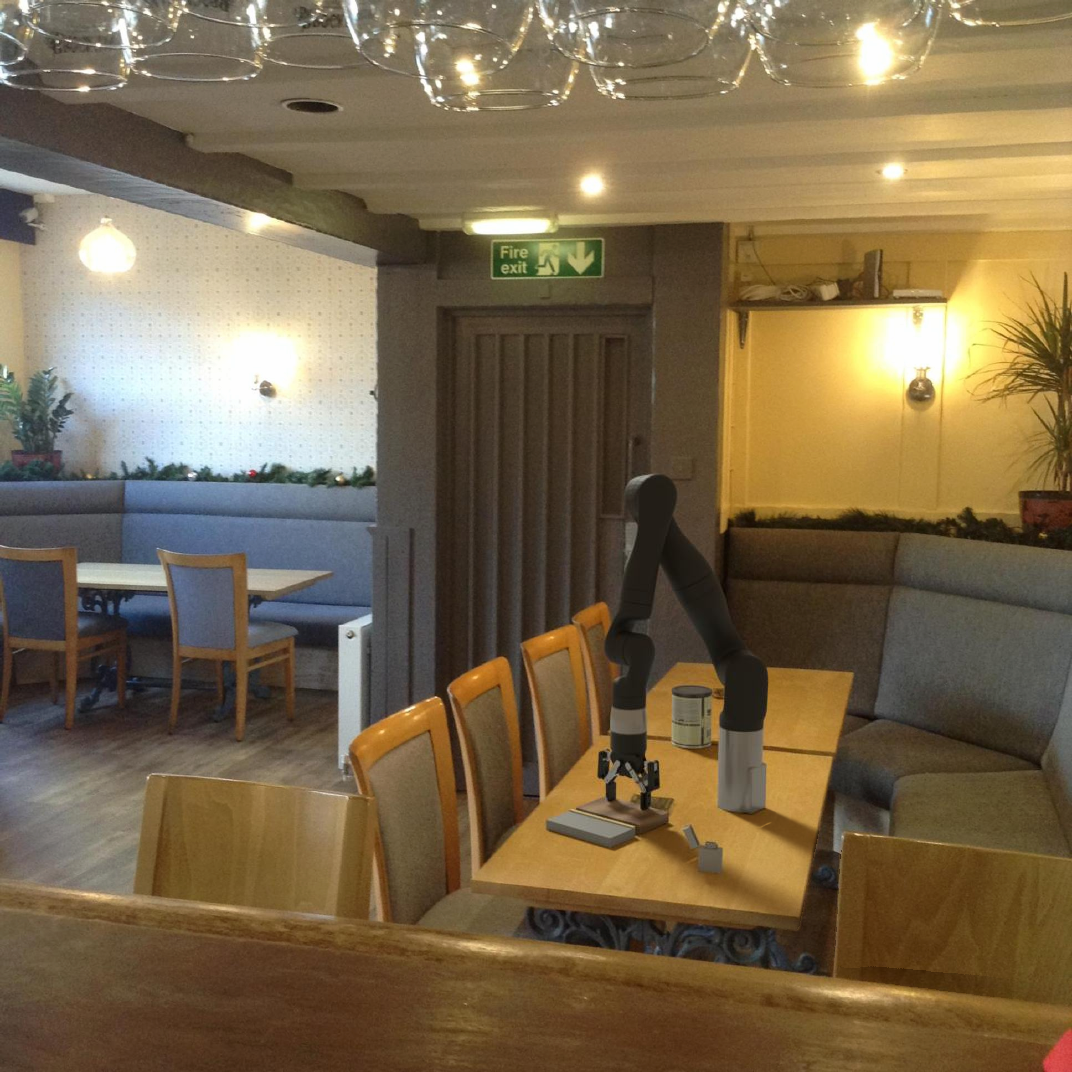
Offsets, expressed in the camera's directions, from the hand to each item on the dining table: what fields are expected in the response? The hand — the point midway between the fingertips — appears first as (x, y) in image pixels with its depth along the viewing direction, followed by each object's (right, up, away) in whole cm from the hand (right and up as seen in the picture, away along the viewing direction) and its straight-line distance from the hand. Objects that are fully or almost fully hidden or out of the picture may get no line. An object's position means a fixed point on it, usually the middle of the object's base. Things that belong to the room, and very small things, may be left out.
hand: (627, 804), depth 244 cm
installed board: (-8, -3, -11) cm, 14 cm away
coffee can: (+21, +2, +57) cm, 61 cm away
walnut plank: (-1, -2, -3) cm, 4 cm away
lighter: (+11, -5, -30) cm, 32 cm away
